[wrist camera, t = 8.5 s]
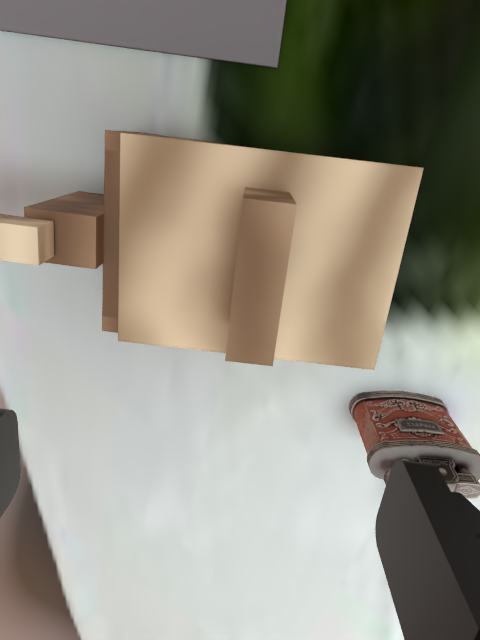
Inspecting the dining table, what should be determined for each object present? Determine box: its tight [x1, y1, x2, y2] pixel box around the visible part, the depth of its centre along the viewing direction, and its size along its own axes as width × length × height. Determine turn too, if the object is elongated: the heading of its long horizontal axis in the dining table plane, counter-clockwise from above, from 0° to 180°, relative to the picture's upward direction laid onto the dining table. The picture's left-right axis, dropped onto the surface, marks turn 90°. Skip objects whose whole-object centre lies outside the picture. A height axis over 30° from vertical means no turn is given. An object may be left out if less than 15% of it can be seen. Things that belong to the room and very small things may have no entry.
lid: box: [118, 133, 423, 370], centre depth 25 cm, size 16×12×6 cm
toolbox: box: [24, 130, 251, 333], centre depth 30 cm, size 20×12×8 cm, turn 83°
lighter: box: [349, 391, 480, 499], centre depth 34 cm, size 8×3×10 cm, turn 86°
